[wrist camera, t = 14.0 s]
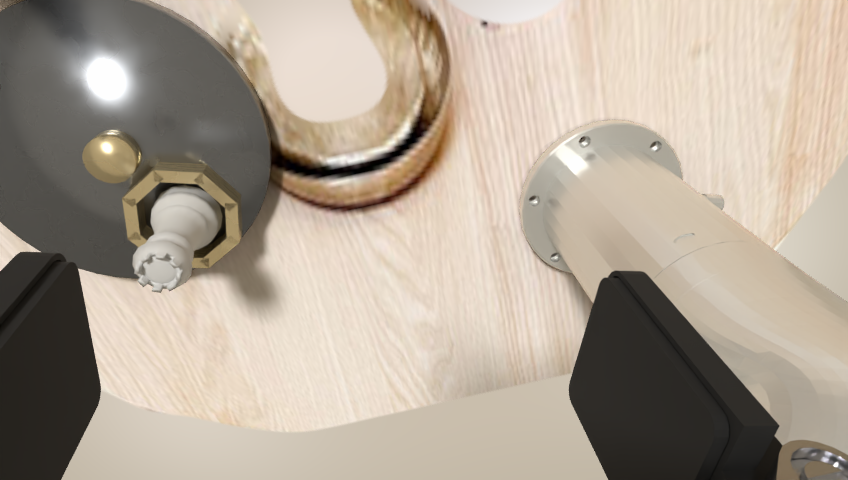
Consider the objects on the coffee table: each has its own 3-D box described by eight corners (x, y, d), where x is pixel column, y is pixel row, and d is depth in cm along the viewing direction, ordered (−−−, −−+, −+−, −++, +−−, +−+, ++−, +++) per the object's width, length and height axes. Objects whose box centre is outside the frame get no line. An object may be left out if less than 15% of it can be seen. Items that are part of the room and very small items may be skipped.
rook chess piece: (211, 249, 41) (186, 316, 34) (146, 227, 40) (106, 291, 33) (232, 197, 40) (210, 256, 33) (166, 171, 38) (127, 227, 31)
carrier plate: (270, 6, 36) (265, 13, 33) (273, 271, 44) (269, 293, 42) (-80, -29, 32) (-116, -25, 30) (-2, 263, 41) (-25, 286, 39)
